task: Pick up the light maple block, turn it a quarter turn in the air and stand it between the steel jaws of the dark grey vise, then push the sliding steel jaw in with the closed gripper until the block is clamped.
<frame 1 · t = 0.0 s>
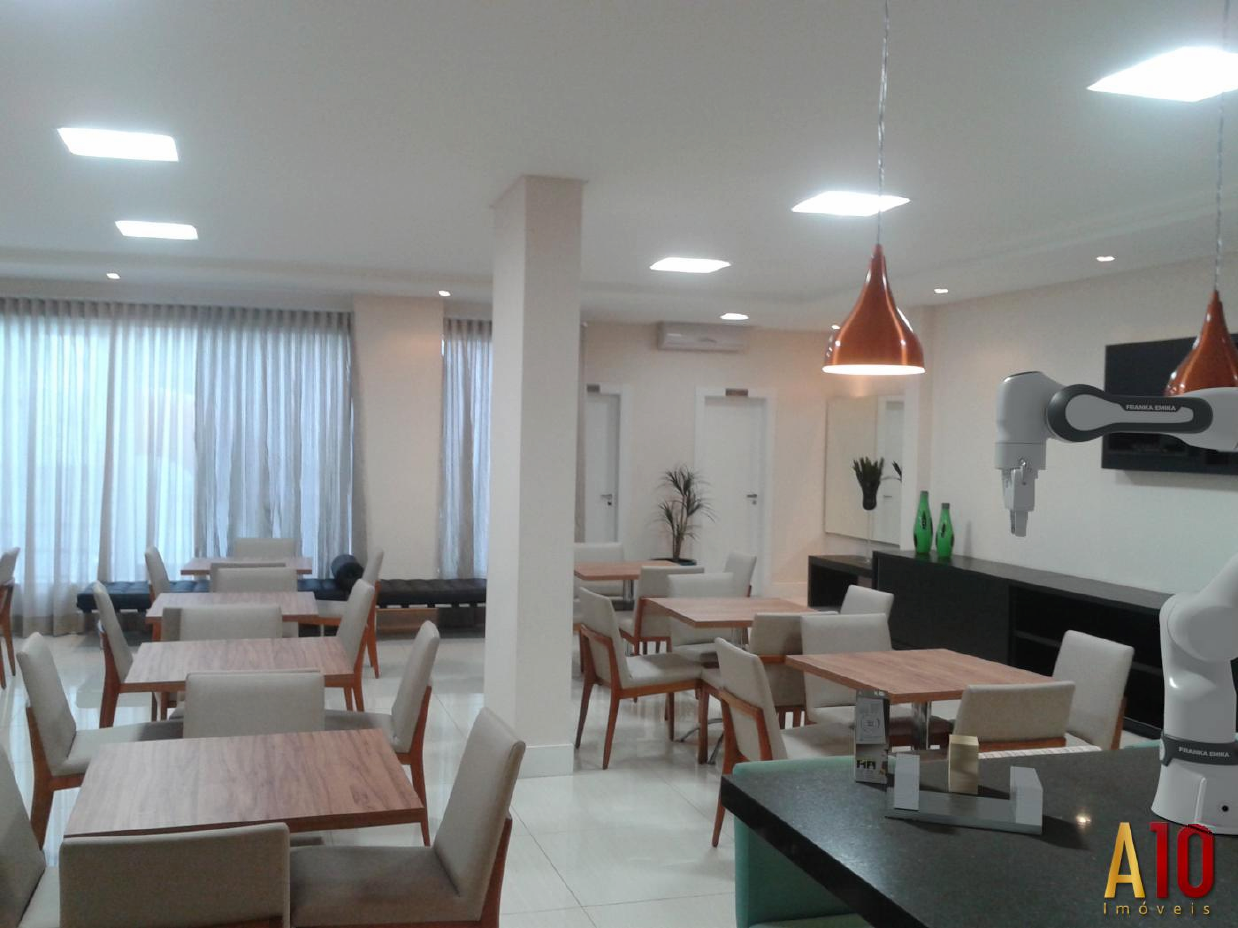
hand: (1018, 535, 195), 48 cm above the counter, tool pointing down, fingers open, 8 cm apart
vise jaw: (907, 780, 186), point 5 cm above the counter, slide at 0.0 cm
maple block: (962, 787, 200), on the counter
coffee box: (870, 777, 205), on the counter
vise base: (960, 813, 183), on the counter
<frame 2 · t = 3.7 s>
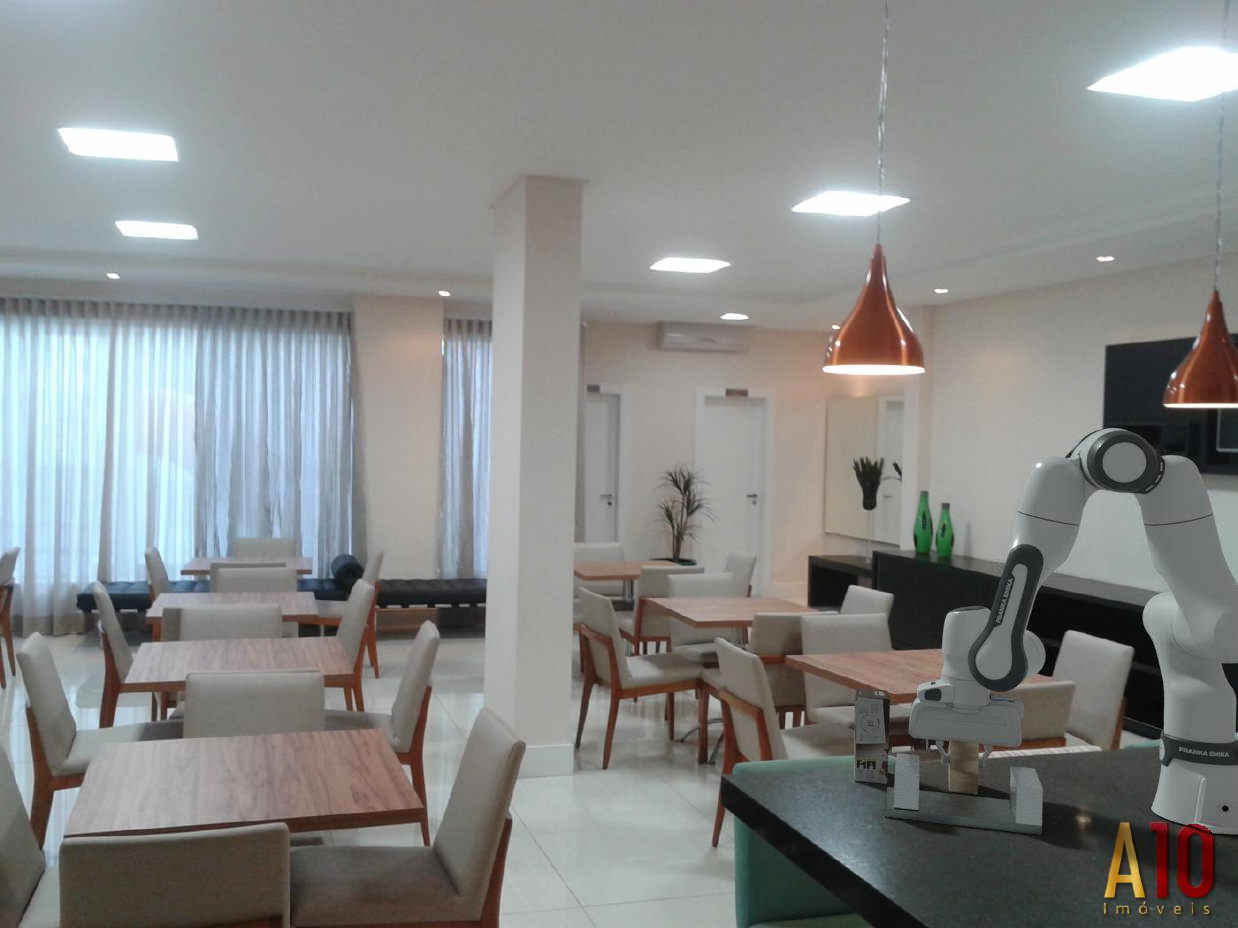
hand: (963, 765, 200), 4 cm above the counter, tool pointing down, fingers closed on maple block, 5 cm apart
maple block: (962, 787, 200), on the counter, touching gripper
everything else where it was.
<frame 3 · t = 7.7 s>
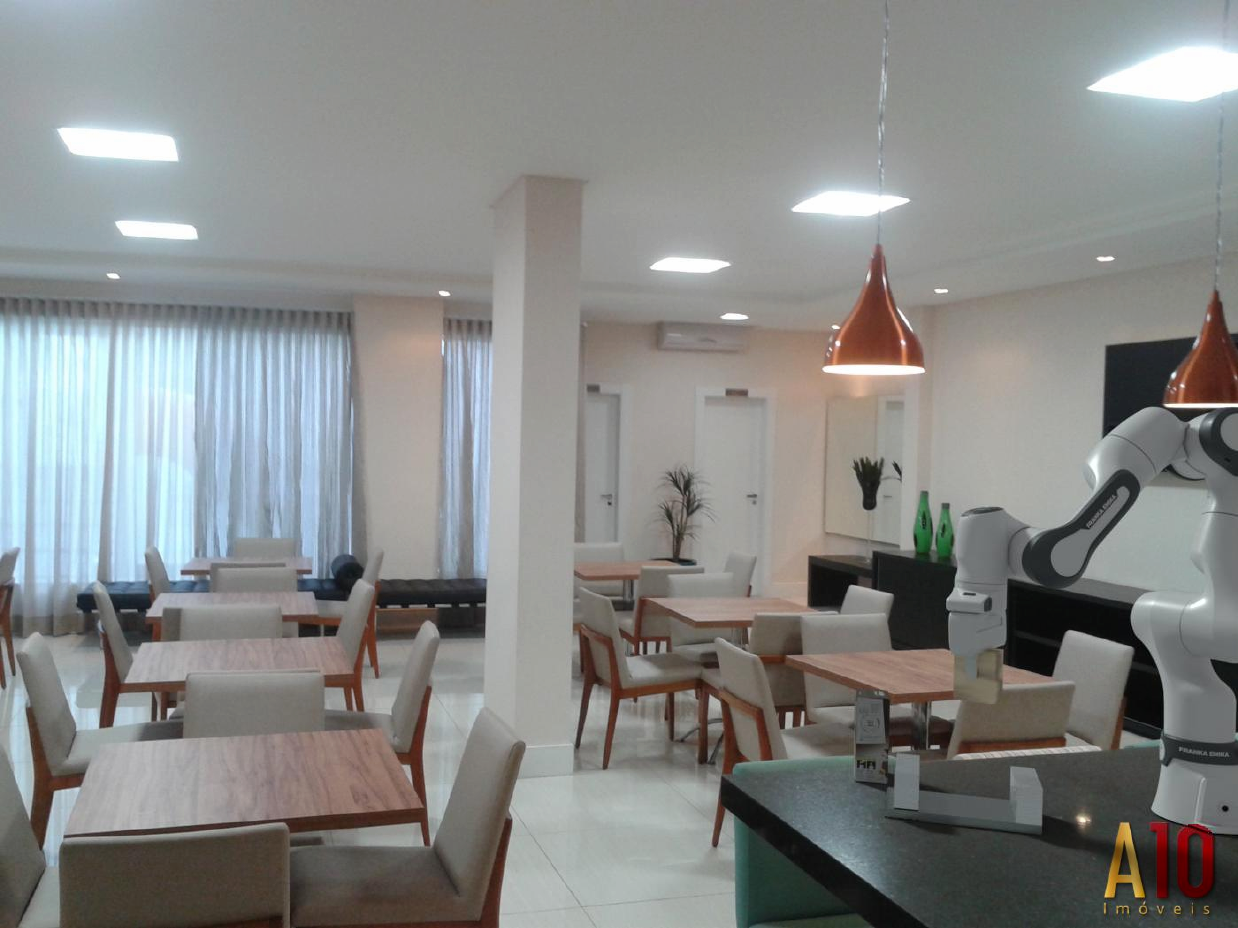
hand: (978, 676, 188), 23 cm above the counter, tool pointing down, fingers closed on maple block, 5 cm apart
maple block: (977, 699, 188), point 19 cm above the counter, touching gripper
everything else where it was.
when the fingers open (7 cm above the counter, at t = 11.8 s): maple block stays where it is, resting on vise base.
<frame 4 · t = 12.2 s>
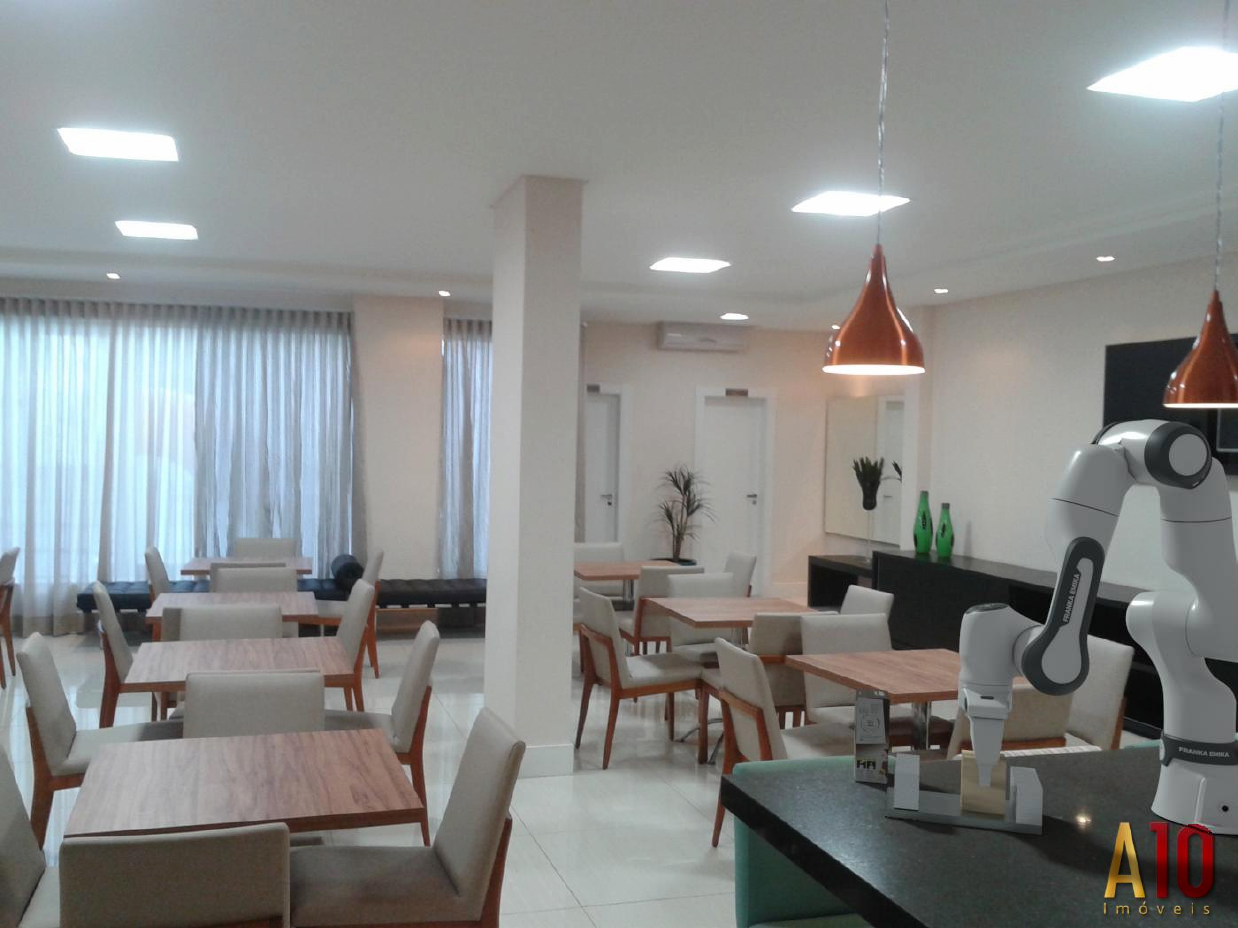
hand: (982, 777, 183), 7 cm above the counter, tool pointing down, fingers open, 8 cm apart
maple block: (982, 807, 183), point 1 cm above the counter, touching vise base
everything else where it was.
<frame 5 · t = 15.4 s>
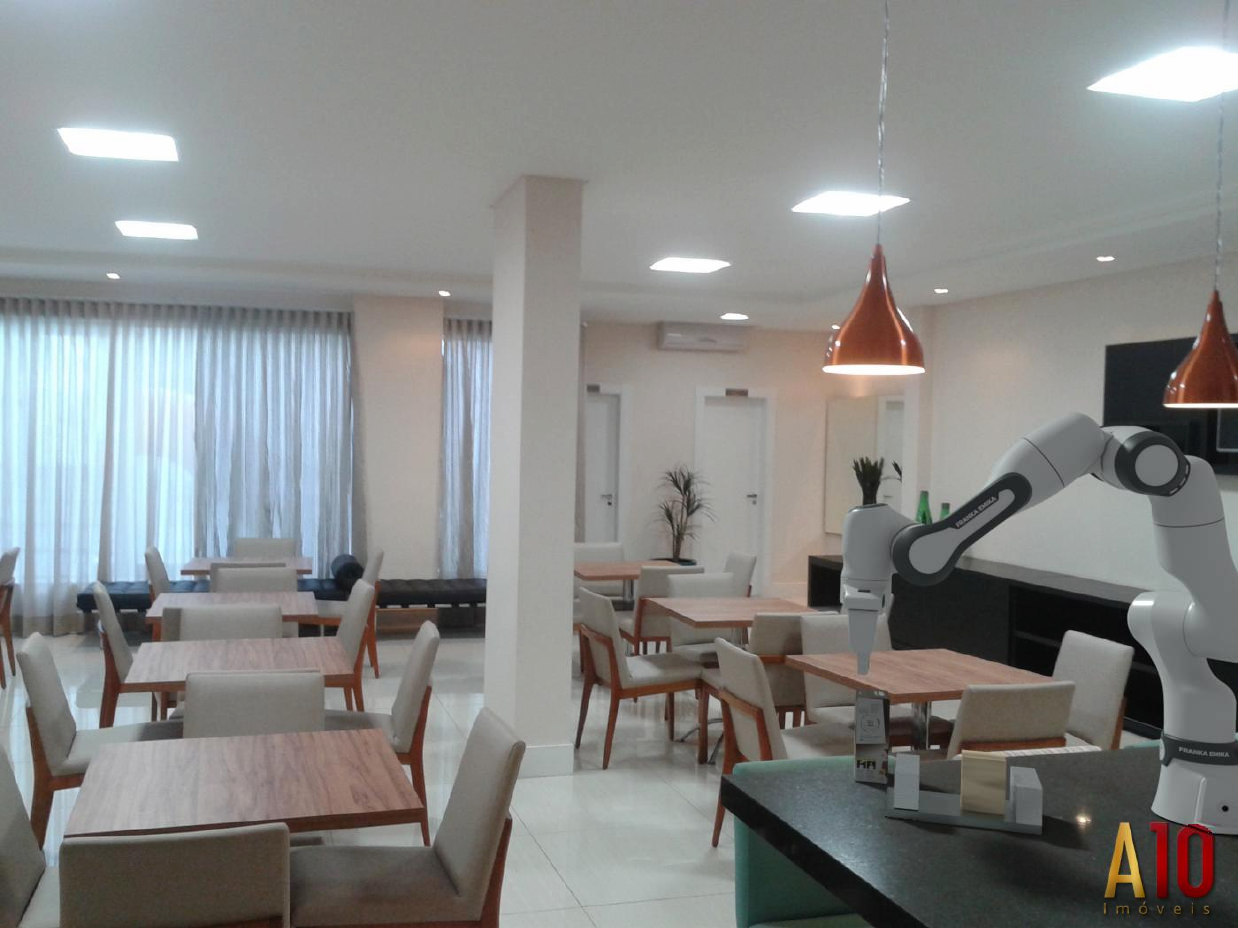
hand: (863, 672, 188), 23 cm above the counter, tool pointing down, fingers open, 3 cm apart
nothing on the counter moved.
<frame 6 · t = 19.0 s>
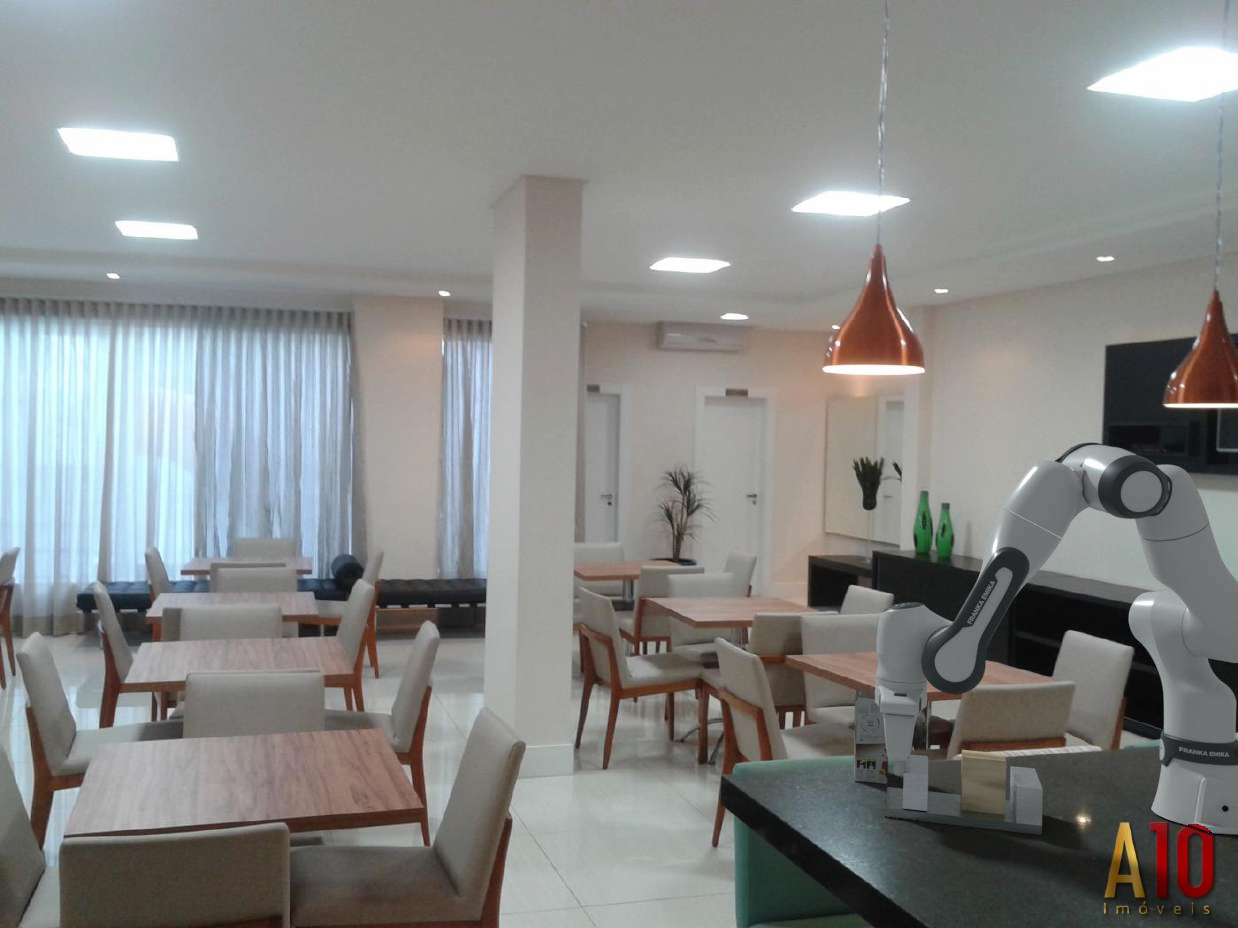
hand: (899, 773, 187), 6 cm above the counter, tool pointing down, fingers closed, pressing on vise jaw
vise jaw: (915, 781, 186), point 5 cm above the counter, slide at 1.5 cm, touching gripper
everything else where it was.
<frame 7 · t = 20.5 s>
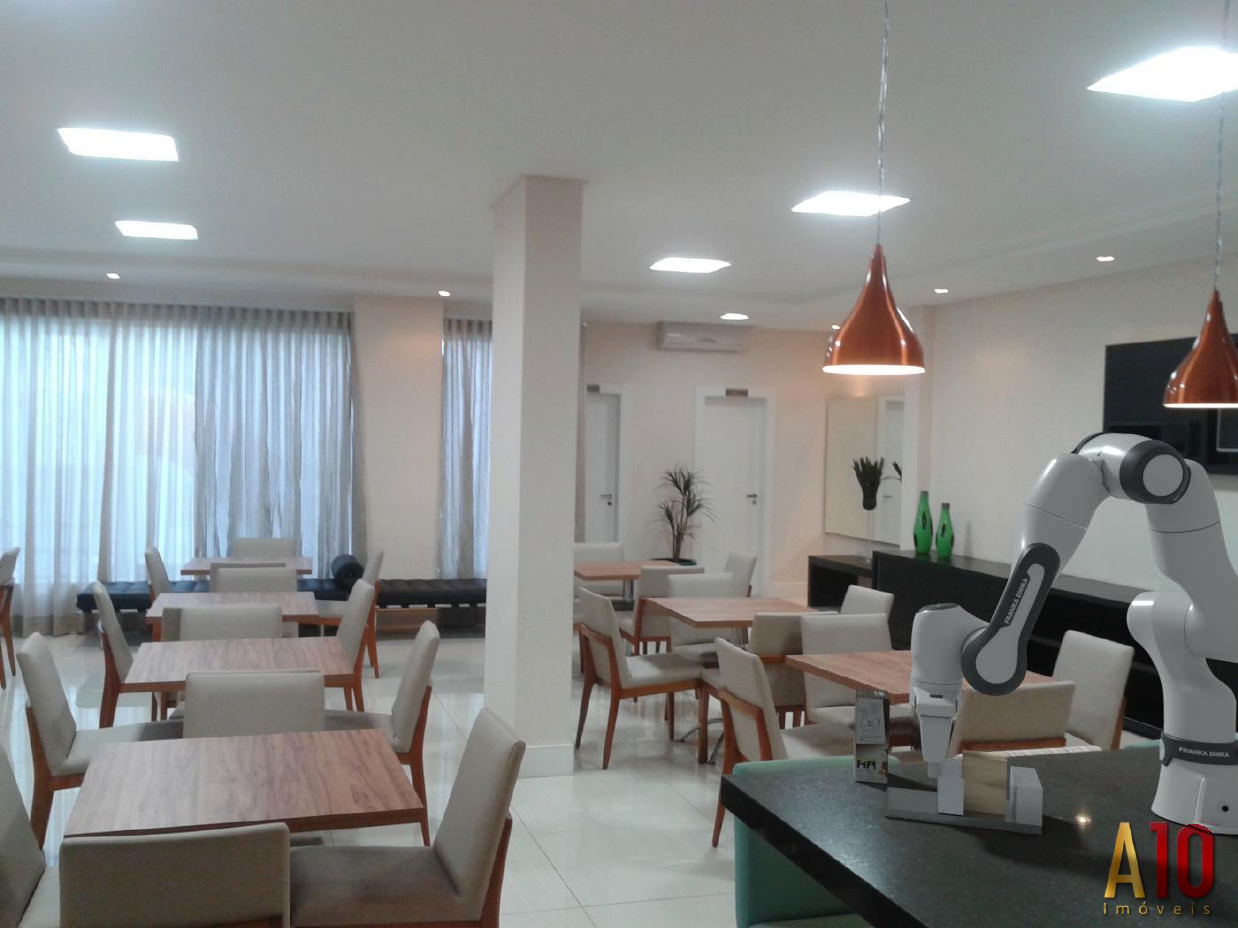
hand: (933, 775, 185), 6 cm above the counter, tool pointing down, fingers closed, pressing on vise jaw
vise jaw: (950, 784, 184), point 5 cm above the counter, slide at 7.2 cm, touching gripper, maple block
maple block: (983, 807, 182), point 1 cm above the counter, touching vise base, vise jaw
everything else where it was.
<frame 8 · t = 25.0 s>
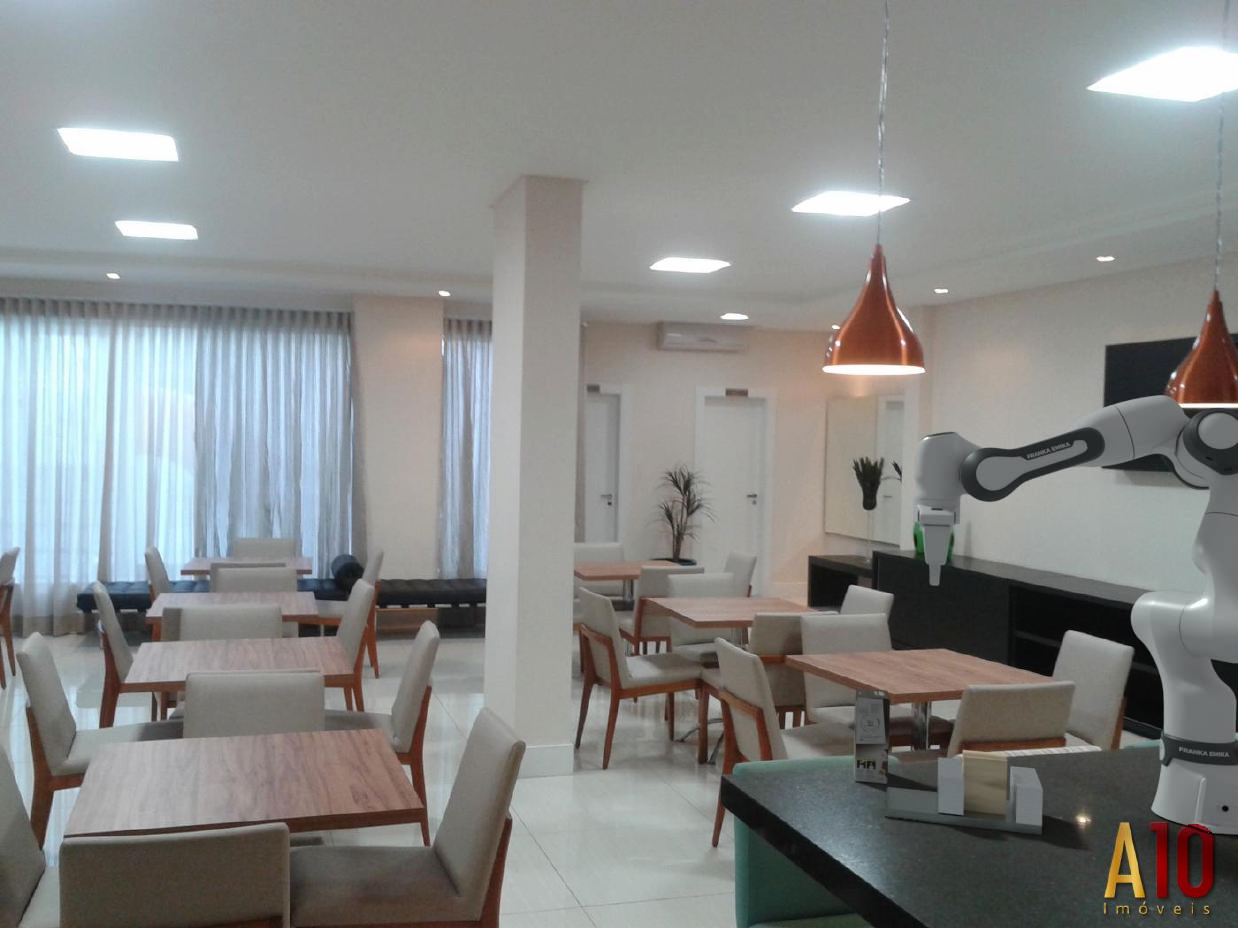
hand: (934, 584, 208), 37 cm above the counter, tool pointing down, fingers closed
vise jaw: (950, 784, 184), point 5 cm above the counter, slide at 7.2 cm, touching maple block
everything else where it was.
at the end: maple block 0.2 cm from the target spot, point 1.5 cm above the counter; maple block tilted 0°; maple block touching vise base, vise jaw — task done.
